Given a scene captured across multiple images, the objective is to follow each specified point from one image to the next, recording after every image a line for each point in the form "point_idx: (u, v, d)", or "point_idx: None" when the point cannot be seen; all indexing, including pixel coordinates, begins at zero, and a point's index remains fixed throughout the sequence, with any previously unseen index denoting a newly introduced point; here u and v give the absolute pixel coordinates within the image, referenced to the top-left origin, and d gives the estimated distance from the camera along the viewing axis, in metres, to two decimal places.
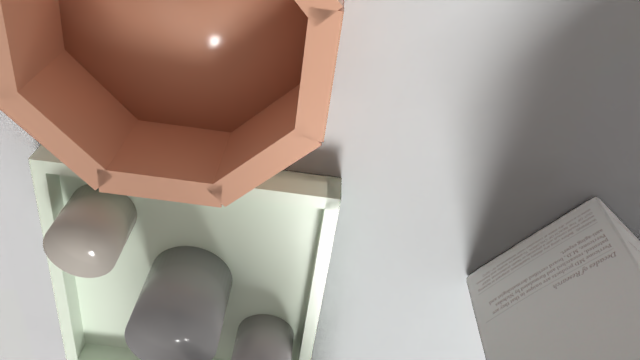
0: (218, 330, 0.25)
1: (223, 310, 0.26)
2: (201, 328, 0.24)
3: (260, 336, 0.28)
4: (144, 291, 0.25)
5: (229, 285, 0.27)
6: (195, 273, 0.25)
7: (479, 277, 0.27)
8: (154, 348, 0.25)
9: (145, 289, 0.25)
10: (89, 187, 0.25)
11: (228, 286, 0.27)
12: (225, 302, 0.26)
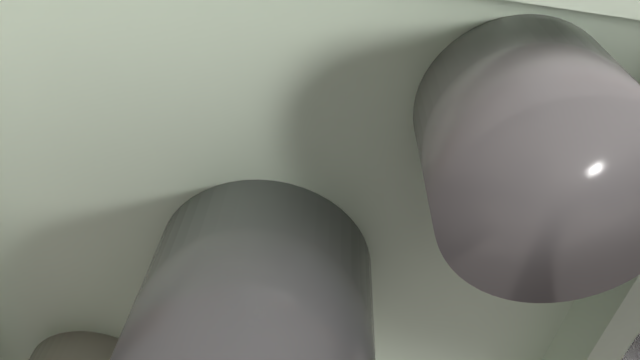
0: (206, 341, 0.07)
1: (225, 272, 0.08)
2: None
3: (423, 158, 0.08)
4: None
5: (242, 204, 0.09)
6: None
7: None
8: None
9: None
10: None
11: (236, 209, 0.09)
12: (232, 248, 0.08)
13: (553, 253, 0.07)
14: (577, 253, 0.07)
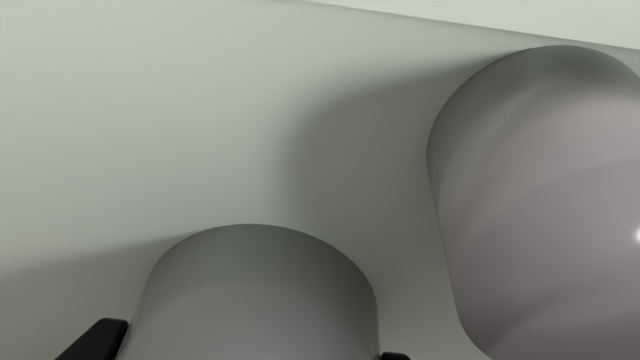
0: None
1: (213, 343, 0.07)
2: None
3: (440, 213, 0.07)
4: None
5: (234, 254, 0.08)
6: None
7: None
8: None
9: None
10: None
11: (227, 261, 0.08)
12: (222, 311, 0.07)
13: (594, 331, 0.06)
14: (623, 330, 0.06)
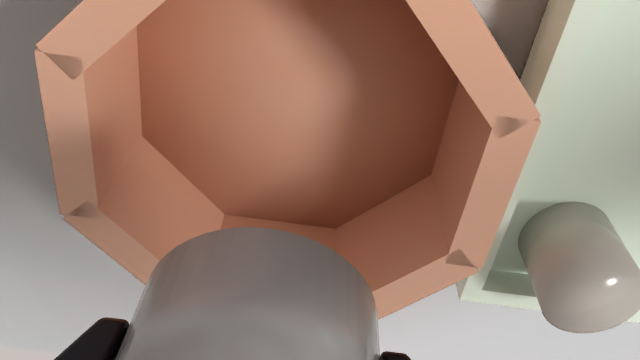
0: None
1: (212, 347, 0.07)
2: None
3: None
4: None
5: (233, 258, 0.08)
6: None
7: None
8: None
9: None
10: (520, 247, 0.19)
11: (226, 266, 0.08)
12: (221, 315, 0.07)
13: None
14: None
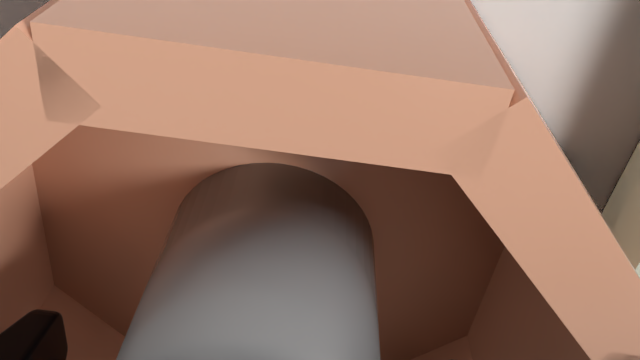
0: (221, 306, 0.07)
1: (237, 246, 0.08)
2: None
3: None
4: None
5: (252, 184, 0.10)
6: (150, 275, 0.10)
7: None
8: None
9: None
10: None
11: (246, 190, 0.09)
12: (243, 224, 0.09)
13: None
14: None
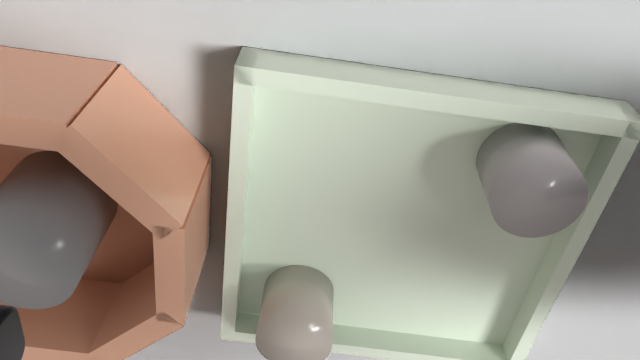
0: None
1: (17, 186, 0.19)
2: None
3: (484, 180, 0.19)
4: None
5: (38, 160, 0.20)
6: None
7: None
8: (36, 284, 0.19)
9: None
10: None
11: (34, 162, 0.20)
12: (24, 177, 0.19)
13: (535, 217, 0.18)
14: (544, 217, 0.18)
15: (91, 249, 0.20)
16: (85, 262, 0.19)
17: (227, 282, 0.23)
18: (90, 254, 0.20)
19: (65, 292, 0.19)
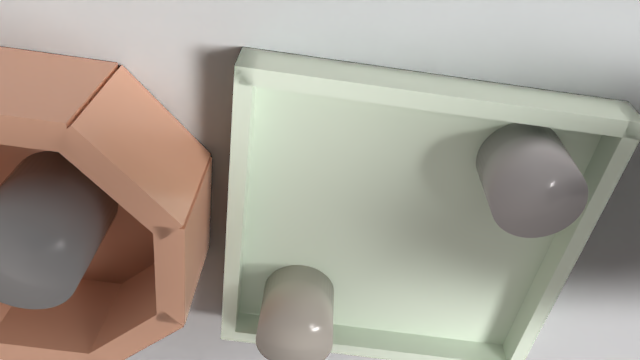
0: None
1: (17, 186, 0.19)
2: None
3: (484, 180, 0.19)
4: None
5: (38, 161, 0.20)
6: None
7: None
8: (37, 284, 0.19)
9: None
10: None
11: (34, 163, 0.20)
12: (25, 178, 0.19)
13: (535, 217, 0.18)
14: (544, 217, 0.18)
15: (92, 249, 0.20)
16: (86, 262, 0.19)
17: (227, 282, 0.23)
18: (91, 254, 0.20)
19: (65, 292, 0.19)
